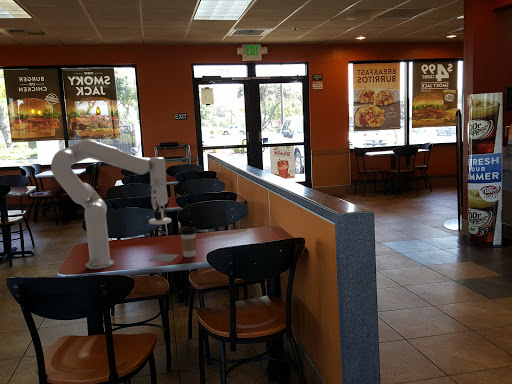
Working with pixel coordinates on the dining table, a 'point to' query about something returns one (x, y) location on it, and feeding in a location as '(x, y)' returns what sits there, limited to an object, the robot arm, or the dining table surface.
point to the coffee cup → (188, 241)
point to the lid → (163, 220)
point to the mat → (164, 257)
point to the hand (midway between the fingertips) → (159, 218)
